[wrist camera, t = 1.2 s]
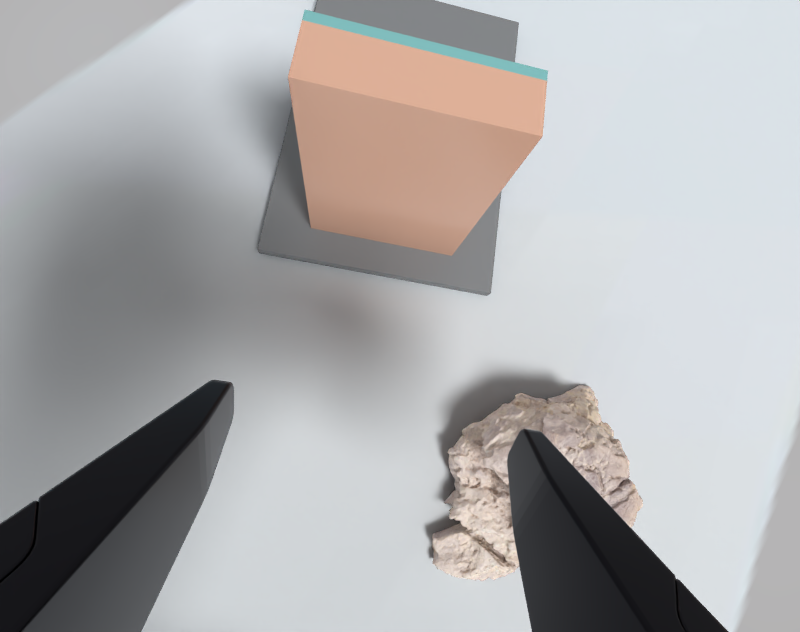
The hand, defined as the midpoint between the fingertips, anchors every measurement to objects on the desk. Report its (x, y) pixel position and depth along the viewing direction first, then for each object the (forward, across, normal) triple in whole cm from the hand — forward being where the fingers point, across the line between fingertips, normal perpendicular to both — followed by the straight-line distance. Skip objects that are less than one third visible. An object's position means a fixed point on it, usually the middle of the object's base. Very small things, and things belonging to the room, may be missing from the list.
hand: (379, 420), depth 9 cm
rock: (+8, -10, +11) cm, 17 cm away
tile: (+17, 0, +2) cm, 17 cm away
